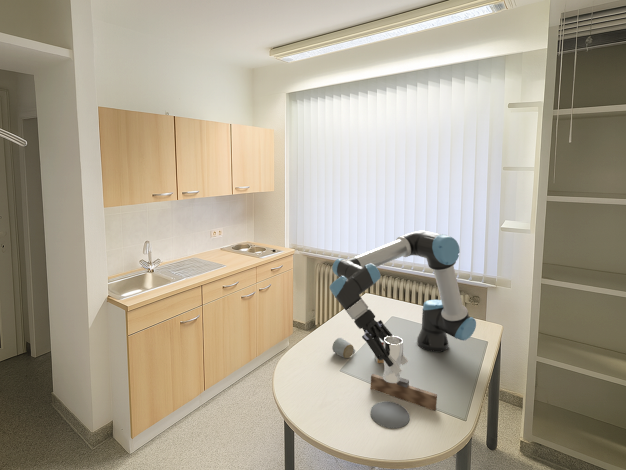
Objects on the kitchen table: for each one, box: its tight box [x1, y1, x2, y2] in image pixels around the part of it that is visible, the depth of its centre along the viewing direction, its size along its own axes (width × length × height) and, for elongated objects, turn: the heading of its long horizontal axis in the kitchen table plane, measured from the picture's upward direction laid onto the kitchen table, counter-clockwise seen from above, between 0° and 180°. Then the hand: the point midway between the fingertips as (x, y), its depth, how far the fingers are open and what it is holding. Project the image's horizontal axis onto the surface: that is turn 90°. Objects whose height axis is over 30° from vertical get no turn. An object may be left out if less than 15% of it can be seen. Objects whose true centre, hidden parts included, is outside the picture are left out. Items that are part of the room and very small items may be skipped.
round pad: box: [370, 400, 410, 429], centre depth 138 cm, size 14×14×1 cm
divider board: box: [370, 373, 438, 412], centre depth 147 cm, size 26×2×8 cm, turn 59°
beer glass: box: [382, 335, 404, 383], centre depth 133 cm, size 7×7×15 cm
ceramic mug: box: [331, 337, 356, 359], centre depth 180 cm, size 11×8×8 cm
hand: (401, 367), depth 132 cm, fingers closed on beer glass, 6 cm apart
